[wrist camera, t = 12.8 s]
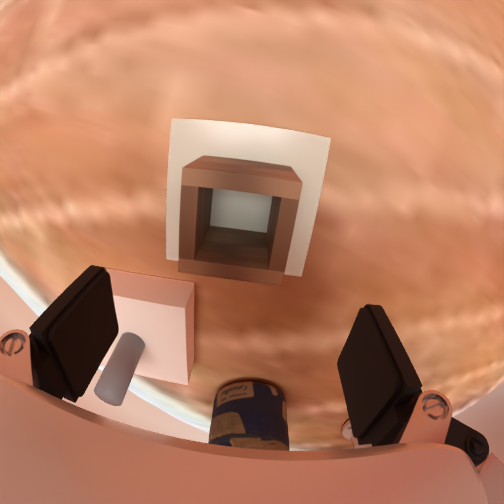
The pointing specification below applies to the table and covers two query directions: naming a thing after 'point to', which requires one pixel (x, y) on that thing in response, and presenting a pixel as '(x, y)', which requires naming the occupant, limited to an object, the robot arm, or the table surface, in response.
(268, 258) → the hollow wooden box
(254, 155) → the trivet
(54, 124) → the table surface
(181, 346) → the post stand
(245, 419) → the canister
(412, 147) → the table surface
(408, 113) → the table surface
